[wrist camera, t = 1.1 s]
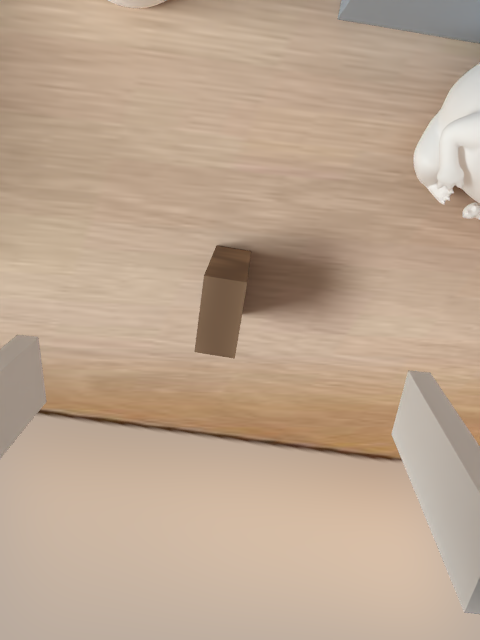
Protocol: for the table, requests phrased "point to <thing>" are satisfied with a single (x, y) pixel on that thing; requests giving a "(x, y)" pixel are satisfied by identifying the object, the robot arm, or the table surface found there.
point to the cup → (137, 3)
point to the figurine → (453, 145)
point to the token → (222, 302)
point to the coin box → (418, 16)
